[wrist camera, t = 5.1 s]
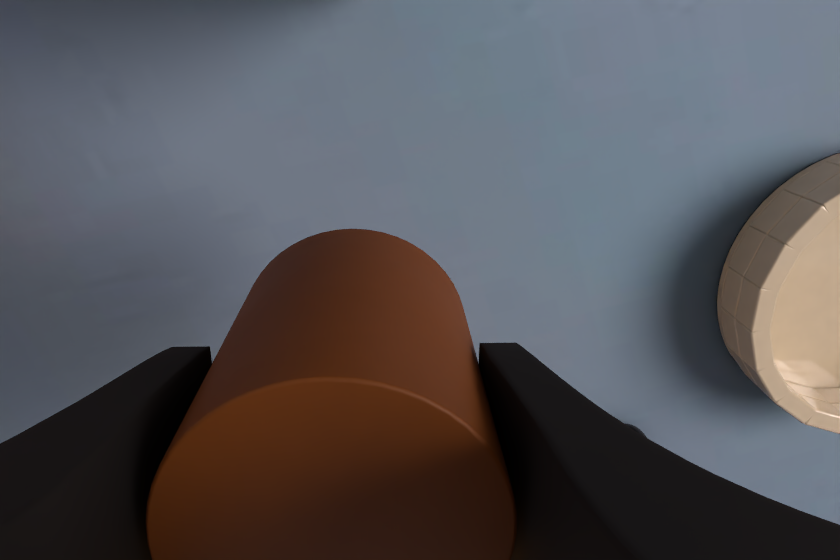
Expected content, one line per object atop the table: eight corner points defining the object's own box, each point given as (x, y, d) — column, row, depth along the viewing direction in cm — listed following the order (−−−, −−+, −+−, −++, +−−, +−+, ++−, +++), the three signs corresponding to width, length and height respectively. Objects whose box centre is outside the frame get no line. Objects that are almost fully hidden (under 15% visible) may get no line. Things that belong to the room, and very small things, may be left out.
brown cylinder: (461, 425, 14) (506, 663, 9) (252, 429, 13) (170, 677, 8) (469, 227, 12) (532, 375, 7) (232, 228, 12) (115, 381, 7)
